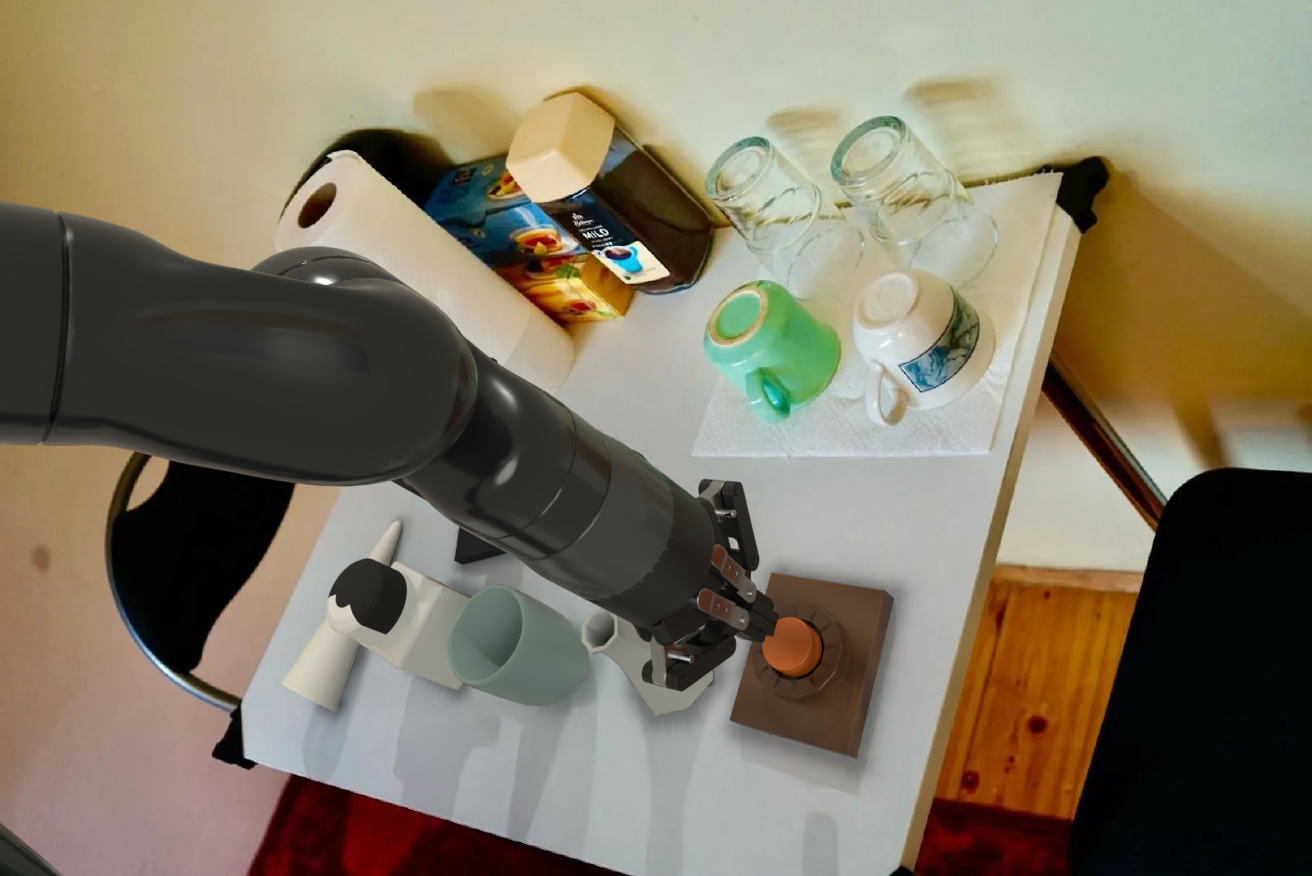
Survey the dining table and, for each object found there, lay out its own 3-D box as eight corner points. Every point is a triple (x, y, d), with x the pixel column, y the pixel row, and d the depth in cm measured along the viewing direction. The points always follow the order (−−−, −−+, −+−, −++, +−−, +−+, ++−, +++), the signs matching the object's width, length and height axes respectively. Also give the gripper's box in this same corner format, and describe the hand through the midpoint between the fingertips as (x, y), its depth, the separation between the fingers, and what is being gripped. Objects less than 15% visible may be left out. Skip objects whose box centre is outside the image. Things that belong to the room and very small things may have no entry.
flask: (696, 604, 70) (624, 560, 63) (729, 684, 66) (656, 645, 58) (624, 651, 72) (547, 613, 65) (651, 733, 67) (571, 701, 60)
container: (452, 587, 87) (347, 537, 77) (501, 612, 82) (395, 562, 72) (413, 661, 85) (301, 619, 76) (460, 692, 80) (346, 651, 71)
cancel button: (814, 682, 59) (803, 675, 58) (767, 671, 61) (755, 664, 60) (828, 629, 60) (817, 621, 59) (781, 620, 62) (770, 612, 61)
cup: (617, 674, 71) (538, 638, 64) (547, 735, 72) (462, 706, 65) (581, 604, 77) (505, 563, 70) (517, 662, 78) (435, 628, 71)
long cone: (447, 541, 93) (346, 717, 86) (415, 533, 97) (317, 700, 90) (406, 513, 89) (297, 695, 82) (375, 506, 94) (269, 678, 87)
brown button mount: (857, 759, 58) (835, 748, 56) (740, 725, 64) (716, 714, 61) (894, 598, 62) (876, 581, 59) (781, 579, 67) (759, 563, 65)
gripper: (593, 405, 49) (741, 522, 62) (509, 639, 45) (686, 714, 57) (705, 408, 45) (841, 534, 57) (623, 669, 40) (789, 743, 53)
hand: (763, 624), depth 57 cm, fingers closed
